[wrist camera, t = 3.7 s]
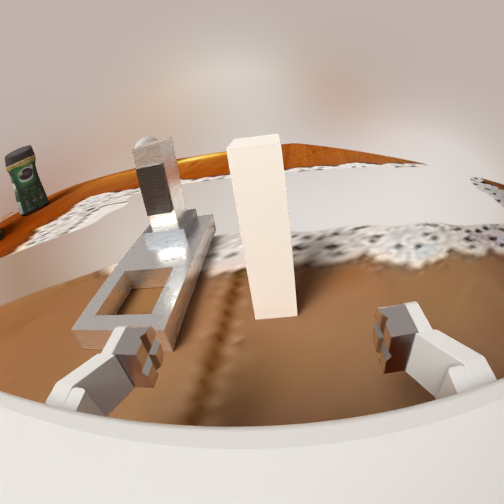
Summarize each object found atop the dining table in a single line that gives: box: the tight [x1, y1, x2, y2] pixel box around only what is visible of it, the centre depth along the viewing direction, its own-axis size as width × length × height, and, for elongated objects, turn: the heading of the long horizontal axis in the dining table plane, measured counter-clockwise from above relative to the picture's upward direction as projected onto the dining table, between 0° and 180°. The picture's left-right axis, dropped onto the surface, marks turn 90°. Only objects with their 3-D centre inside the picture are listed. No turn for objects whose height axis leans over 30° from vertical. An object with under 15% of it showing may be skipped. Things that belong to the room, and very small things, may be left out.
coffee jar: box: [5, 145, 48, 216], centre depth 69 cm, size 10×8×19 cm
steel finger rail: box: [71, 137, 216, 352], centre depth 27 cm, size 20×8×12 cm, turn 177°
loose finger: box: [226, 134, 297, 320], centre depth 21 cm, size 5×3×12 cm, turn 177°
